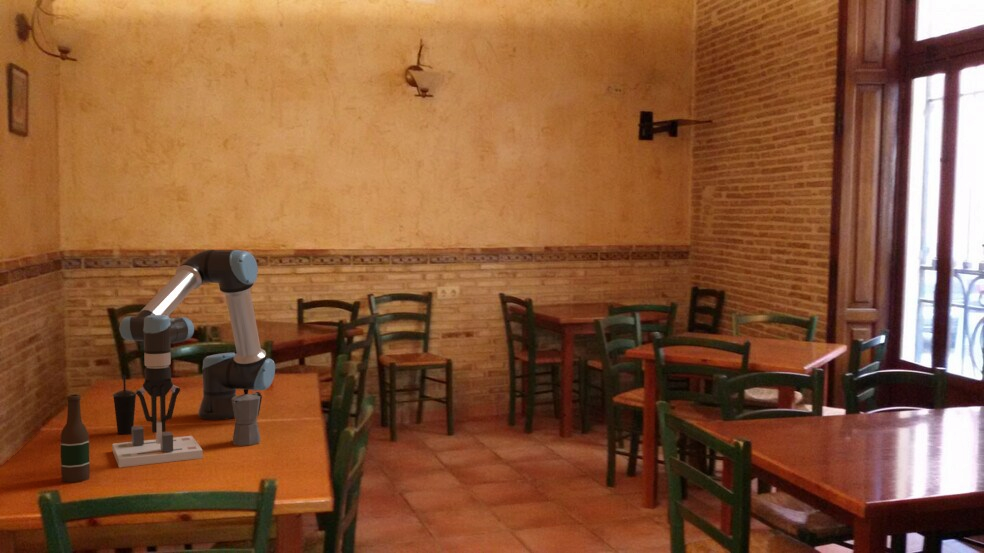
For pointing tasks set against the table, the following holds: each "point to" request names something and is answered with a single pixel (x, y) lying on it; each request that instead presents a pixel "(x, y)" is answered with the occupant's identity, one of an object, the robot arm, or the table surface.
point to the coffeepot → (246, 418)
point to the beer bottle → (74, 445)
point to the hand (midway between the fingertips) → (159, 442)
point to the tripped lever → (167, 442)
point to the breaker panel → (156, 452)
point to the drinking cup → (124, 409)
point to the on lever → (137, 435)
